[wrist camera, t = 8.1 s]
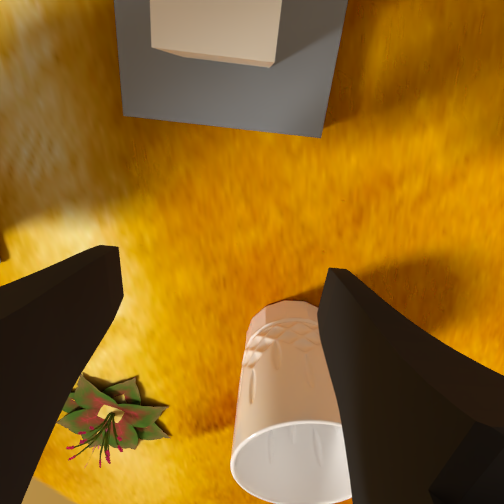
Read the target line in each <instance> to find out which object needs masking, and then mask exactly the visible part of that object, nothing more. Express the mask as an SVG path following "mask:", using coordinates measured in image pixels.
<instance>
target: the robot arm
mask: <svg viewBox="0 0 504 504" xmlns="http://www.w3.org/2000/svg"><path fill="white" fill-rule="evenodd" d="M0 263H1V260H0ZM123 297H124V294H123V285H122V276H121V266H120V257H119V248H118V247H116V246H105V245H99V246H96V247H93V248H90V249H88V250H85V251H83V252H81V253H79V254H76V255H74V256H72V257H70V258H67V259H65V260H63V261H61V262H58V263H56V264H54V265H52V266H50V267H47V268H45V269H43V270H40V271H38V272H35V273H33V274H31V275H28V276H26V277H23V278H21V279H18V280H16V281H13V282H11V283H8V284H6V285H3V286H0V504H21V503H22V501H23V498H24V495H25V493H26V491H27V488H28V486H29V484H30V481H31V479H32V476H33V474H34V472H35V469H36V467H37V464H38V462H39V460H40V457H41V455H42V453H43V450H44V448H45V446H46V444H47V441H48V439H49V437H50V435H51V433H52V430H53V428H54V426H55V424H56V421H57V419H58V417H59V415H60V413H61V411H62V409H63V407H64V405H65V403H66V401H67V398H68V396H69V394H70V392H71V390H72V388H73V387H74V385H75V383H76V381H77V379H78V378H79V376H80V374H81V373H82V371H83V369H84V368H85V366H86V365H87V363H88V361H89V360H90V358H91V356H92V355H93V353H94V352H95V350H96V348H97V347H98V345H99V344H100V342H101V340H102V339H103V337H104V335H105V334H106V332H107V330H108V329H109V327H110V325H111V324H112V322H113V320H114V318H115V316H116V313H117V311H118V309H119V306H120V304H121V302H122V299H123ZM317 319H318V328H319V335H320V341H321V345H322V348H323V352H324V356H325V360H326V363H327V367H328V370H329V374H330V378H331V381H332V385H333V388H334V392H335V396H336V400H337V404H338V408H339V413H340V419H341V425H342V431H343V437H344V443H345V450H346V456H347V463H348V470H349V477H350V485H351V493H352V501H353V504H504V376H503V375H501V374H499V373H497V372H495V371H493V370H491V369H489V368H487V367H485V366H483V365H481V364H479V363H478V362H476V361H474V360H472V359H470V358H469V357H467V356H465V355H463V354H461V353H460V352H458V351H456V350H454V349H453V348H451V347H449V346H448V345H446V344H444V343H443V342H441V341H440V340H438V339H436V338H435V337H433V336H432V335H430V334H429V333H427V332H426V331H424V330H423V329H421V328H420V327H418V326H417V325H415V324H414V323H413V322H411V321H410V320H409V319H407V318H406V317H405V316H403V315H402V314H401V313H399V312H398V311H397V310H395V309H394V308H393V307H392V306H390V305H389V304H388V303H387V302H385V301H384V300H383V299H382V298H381V297H379V296H378V295H377V294H376V293H375V292H373V291H372V290H371V289H370V288H369V287H368V286H366V285H365V284H364V283H363V282H362V281H361V280H359V279H358V278H357V277H356V276H355V275H353V274H352V273H351V272H350V271H348V270H347V269H339V268H329V269H328V273H327V277H326V281H325V285H324V289H323V292H322V296H321V300H320V304H319V308H318V312H317Z"/></svg>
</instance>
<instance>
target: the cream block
mask: <svg viewBox="0 0 504 504" xmlns="http://www.w3.org/2000/svg"><path fill="white" fill-rule="evenodd" d="M281 5H282V0H150V20H151V47H152V48H155V49H158V50H162V51H165V52H168V53H171V54H175V55H178V56H181V57H186V58H194V59H202V60H210V61H218V62H226V63H235V64H243V65H251V66H259V67H267V68H270V67H271V66H272V65H273V64H274V63H275V54H276V46H277V38H278V30H279V21H280V13H281Z"/></svg>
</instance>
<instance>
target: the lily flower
mask: <svg viewBox="0 0 504 504" xmlns="http://www.w3.org/2000/svg"><path fill="white" fill-rule="evenodd" d="M135 382H136V377H135V378H133V379H132V380H128V381H125V382H124V383H119V384H116V385H114V386H111V387H108V388H106V389H105V390H104V391H103V392H100V391H99V390H98V389H97V388H96V387H95V386H94V385H92V384H91V383H90V382H89V381H87V380H86V379H85V378H84V377H83V376H82V374H80V378H79V381H78V384H77V385H78V387H77V388H76V390H75V393H70V394H69V396H68V398H67V401H66V403H65V405H64V407H63V409H62V410H63V411H65V412H67V413H70V414H68V415H66V416H65V417H63V418H62V419H60V420H59V421H58V422H56V423H58V424H61V425H62V426H64V427H65V428H69V430H70V431H72V432H74V433H75V434H81V436H82V438H83V439H84V440H82V441H81V440H80V443H79V444H80V445H77V446H75V447H78V446H81V445H83V444H86V443H88V444H89V445H88V446H87V447H86V448H88V447H89V448H91V447H94V448H96V446H98V445H100V446H102V447H101V451H100V460H99V461H100V462H99V463H100V464H99V465H100V466H99V467H100V468H101V453H102V449H103V446H104V449H105V450H104V451H105V455H106V457H105V458H106V460H107V461H108V463H109V464H110V463H111V462H110V460H109V459H110V458H109V456H110V453H109V445H111V446H112V447H114V448H119V451H120V452H123V451H122V450H123V449H122V448H131V449H135V448H136V446H137V444H138V438H140V439H144V440H155V439H161V438H163V437H165V438H170V437H169V436H168V435H167V434H166V433H164V432H163V431H162V430H161V429H160V428H159V427H158V426H157V425H156V424H155V423H154V422H155V421H156V420H157V419H158V418H159V416H160V415H161V413H162V410H165V409H166V408H168V407H152V406H140V403H141V398H140V394H139V390H138V387H137V385H136V384H135ZM122 394H124V395H125V399H126V402H127V404H118V405H117V403H116V402H115V401H114V400H113V399H112V398H113V397H116V396H119V395H122ZM72 399H73V400H75V401H76V402H75V401H73V400H72ZM104 404H105V405H108V406H111V407H115V408H118V409H120V410H122V411H124V412H125V413H124V415H123V417H122V419H121V420H120V421H119V423H115V422H114V416H115V415H114V414H115V413H114V414H112V413H109V414H108V415H107V417H106V418H105V419H102V418H100V417H98V416H97V414H98V412H99V410H100V408H101V407H102V406H103V405H104ZM80 406H81V407H80ZM82 407H83V408H85V409H83V408H82ZM109 416H110V417H109ZM108 418H109V419H108ZM111 420H112V422H111ZM133 426H135V427H133ZM100 430H101V431H100ZM98 431H100V432H99V433H98V434H97V432H98ZM96 434H97V435H96ZM81 443H82V444H81ZM75 447H74V446H72V447H71V446H70V447H68V446H67V448H66V449H74V448H75ZM107 447H108V450H107ZM86 448H84V449H83V450H82V451H81V452H83V451H84V450H85V449H86ZM98 448H99V446H98ZM93 450H95V449H93ZM81 452H80V453H81ZM93 452H94V451H93ZM80 453H78V454H80ZM78 454H77V455H78ZM77 455H74V456H73V457H71V458H69V460H71V459H73V458H75V457H76V456H77ZM69 460H68V461H69ZM86 465H87V464H86ZM85 467H86V466H85ZM84 469H85V468H84Z"/></svg>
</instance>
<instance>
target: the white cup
mask: <svg viewBox="0 0 504 504" xmlns="http://www.w3.org/2000/svg"><path fill="white" fill-rule="evenodd" d="M317 312H318V307H316V306H314V305H311V304H309V303H307V302H305V301H288V300H284V301H281V302H278V303H275V304H272V305H268V306H266V307H264V308H263V309H262V310H261V311H260V312H259V313H258V314H256V315H255V316H254V317H253V318H252V320H251V323H250V326H249V328H248V331H247V336H246V346H245V352H244V356H243V362H242V371H241V377H240V384H239V392H238V401H237V410H236V420H235V429H234V437H233V446H232V455H231V464H230V466H231V472H232V475H233V477H234V479H235V480H236V482H237V483H238V484H239V485H240V486H241V487H242V488H243V489H244V490H246V491H247V492H248V493H250V494H252V495H253V496H255V497H258V498H260V499H262V500H265V501H268V502H272V503H276V504H333V503H337V502H341V501H344V500H347V499H349V498H352V493H351V485H350V477H349V470H348V463H347V456H346V450H345V443H344V437H343V431H342V425H341V419H340V413H339V408H338V404H337V400H336V396H335V392H334V388H333V385H332V381H331V378H330V374H329V370H328V367H327V363H326V360H325V356H324V352H323V348H322V345H321V341H320V335H319V328H318V319H317Z"/></svg>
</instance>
